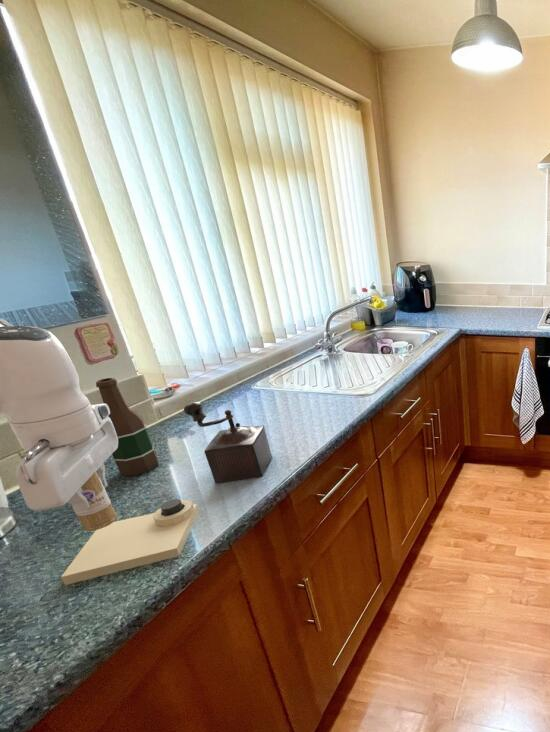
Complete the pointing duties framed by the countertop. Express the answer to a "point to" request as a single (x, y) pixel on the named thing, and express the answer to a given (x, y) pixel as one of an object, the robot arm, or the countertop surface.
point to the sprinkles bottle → (96, 504)
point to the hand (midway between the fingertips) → (92, 498)
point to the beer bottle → (128, 432)
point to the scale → (132, 543)
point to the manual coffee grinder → (234, 448)
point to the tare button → (171, 507)
